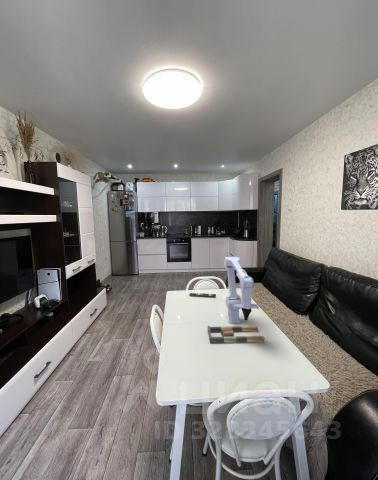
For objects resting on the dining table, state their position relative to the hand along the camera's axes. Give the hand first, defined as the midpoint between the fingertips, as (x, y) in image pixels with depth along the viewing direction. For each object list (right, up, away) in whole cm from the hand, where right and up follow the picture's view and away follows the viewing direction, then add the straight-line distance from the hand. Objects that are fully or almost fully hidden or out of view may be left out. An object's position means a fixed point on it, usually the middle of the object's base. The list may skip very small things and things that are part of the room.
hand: (245, 319), depth 127 cm
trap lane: (-6, -10, +1) cm, 12 cm away
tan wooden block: (-11, -11, 0) cm, 15 cm away
